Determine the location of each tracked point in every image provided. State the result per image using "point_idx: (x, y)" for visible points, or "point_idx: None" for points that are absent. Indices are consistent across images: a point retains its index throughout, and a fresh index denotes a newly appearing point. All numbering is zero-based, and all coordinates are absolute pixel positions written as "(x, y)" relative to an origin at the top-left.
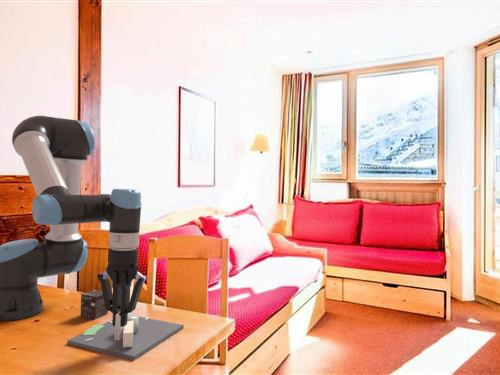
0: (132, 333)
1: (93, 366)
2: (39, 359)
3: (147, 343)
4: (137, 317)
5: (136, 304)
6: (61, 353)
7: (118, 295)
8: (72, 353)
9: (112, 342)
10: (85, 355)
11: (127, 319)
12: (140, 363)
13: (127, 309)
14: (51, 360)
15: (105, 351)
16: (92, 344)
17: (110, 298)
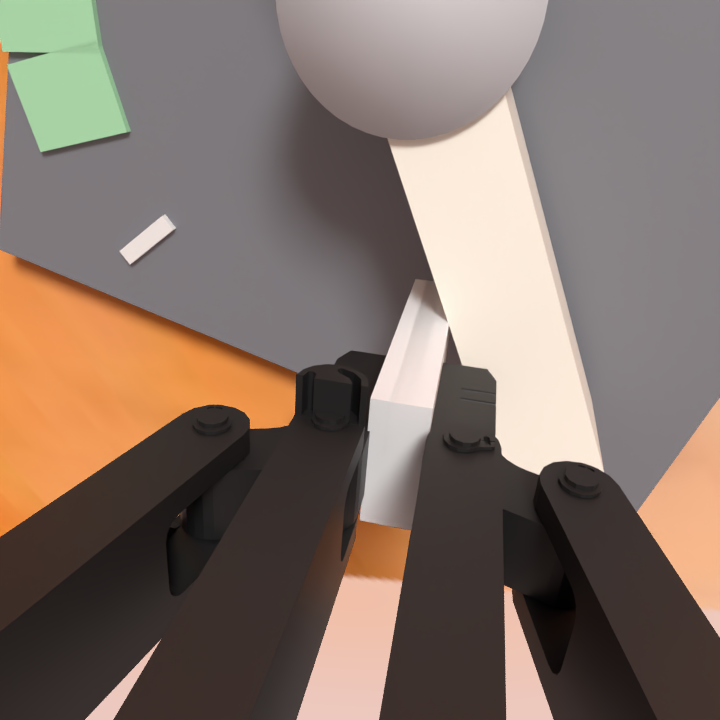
0: (596, 467)
1: (378, 542)
2: (29, 449)
3: (717, 292)
4: (543, 1)
5: (654, 544)
6: (88, 381)
7: (286, 703)
8: (153, 382)
9: (367, 279)
10: (252, 411)
11: (417, 110)
12: (690, 531)
13: (522, 608)
14: (99, 463)
15: None
16: (225, 319)
17: (149, 583)
